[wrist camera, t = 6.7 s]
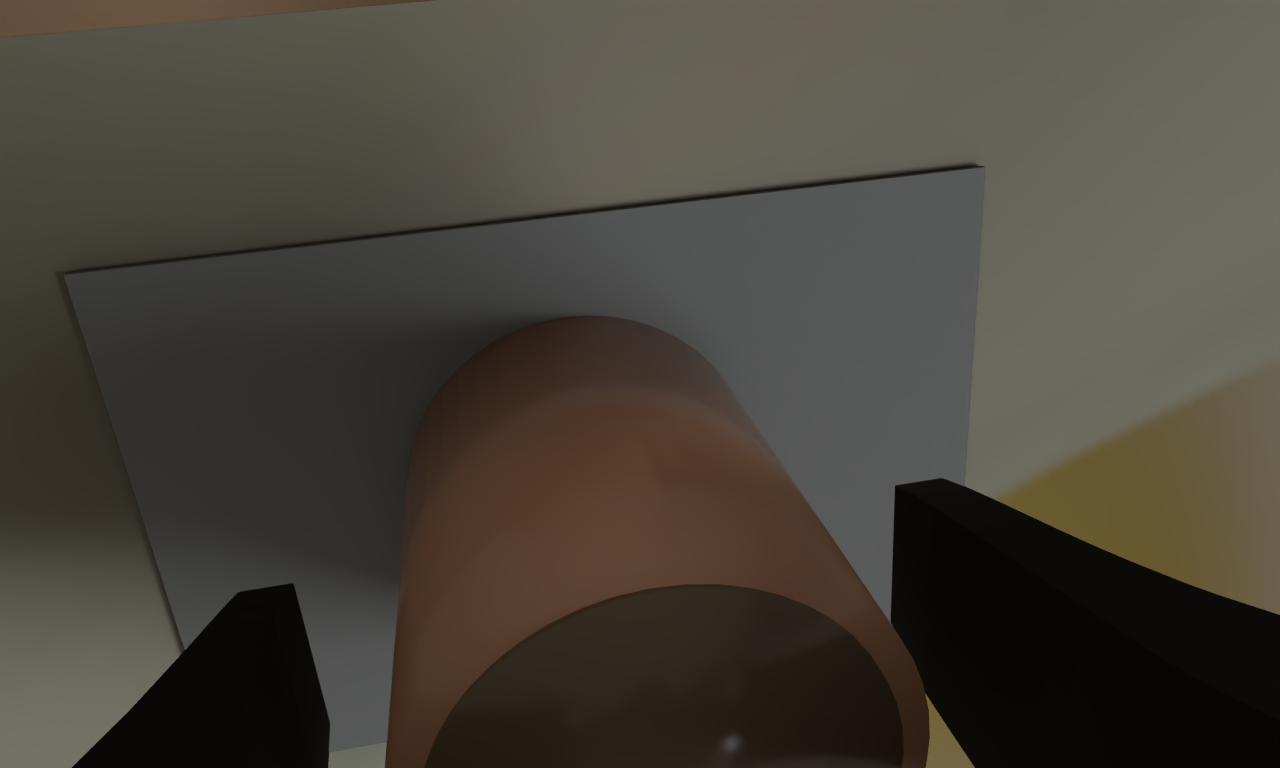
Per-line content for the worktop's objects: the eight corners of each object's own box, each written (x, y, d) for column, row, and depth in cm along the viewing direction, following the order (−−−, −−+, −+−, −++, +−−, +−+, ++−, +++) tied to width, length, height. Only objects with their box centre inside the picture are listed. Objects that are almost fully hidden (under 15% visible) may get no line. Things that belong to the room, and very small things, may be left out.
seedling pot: (743, 293, 14) (946, 512, 8) (755, 591, 16) (924, 932, 10) (377, 343, 13) (325, 619, 7) (438, 647, 15) (433, 1045, 9)
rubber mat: (981, 165, 14) (985, 167, 14) (951, 633, 17) (954, 637, 17) (66, 272, 12) (63, 274, 12) (224, 766, 15) (224, 771, 15)
